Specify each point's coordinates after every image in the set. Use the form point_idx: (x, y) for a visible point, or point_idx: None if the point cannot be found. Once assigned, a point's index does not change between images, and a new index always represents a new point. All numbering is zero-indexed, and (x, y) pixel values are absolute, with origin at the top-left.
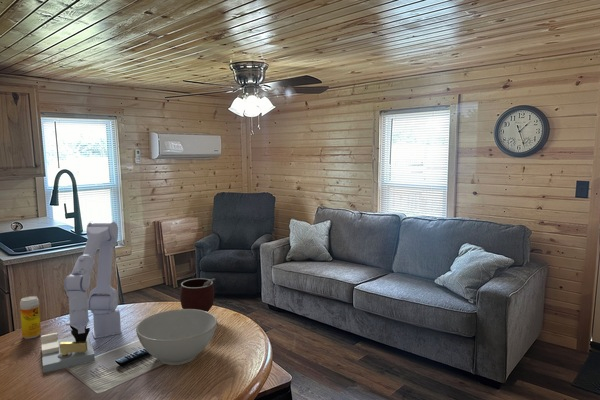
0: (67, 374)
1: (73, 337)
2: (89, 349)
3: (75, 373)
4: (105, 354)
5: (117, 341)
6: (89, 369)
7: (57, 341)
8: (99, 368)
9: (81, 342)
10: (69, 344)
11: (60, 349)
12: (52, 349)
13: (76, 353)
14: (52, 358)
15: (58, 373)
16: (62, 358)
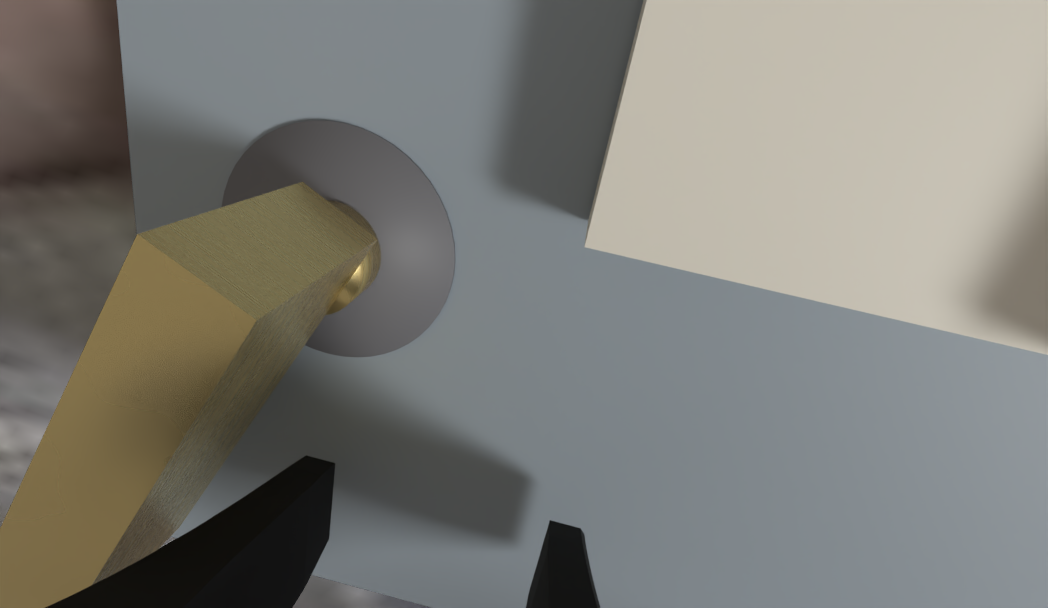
0: (21, 129)
1: (1009, 582)
2: (330, 547)
3: (11, 214)
4: (320, 585)
5: None
6: (48, 358)
7: (950, 317)
8: (29, 431)
9: (11, 601)
10: (69, 414)
11: (250, 207)
12: (623, 103)
13: (302, 393)
14: (340, 23)
15: (98, 38)
16: (233, 175)
